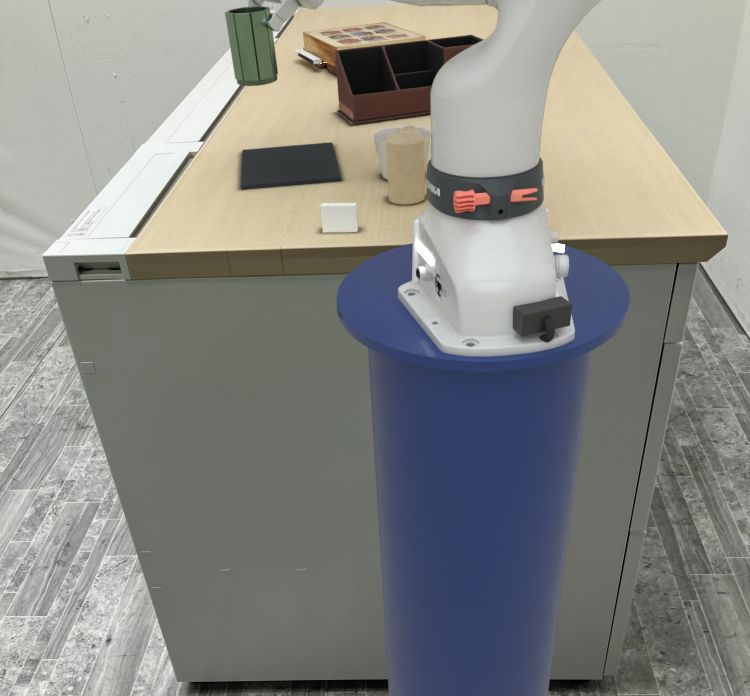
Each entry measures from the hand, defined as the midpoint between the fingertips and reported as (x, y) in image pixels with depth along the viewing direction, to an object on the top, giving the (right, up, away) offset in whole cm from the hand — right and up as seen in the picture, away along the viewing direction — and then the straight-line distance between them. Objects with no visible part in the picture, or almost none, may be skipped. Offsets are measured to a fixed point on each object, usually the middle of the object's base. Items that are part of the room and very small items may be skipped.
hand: (258, 26), depth 122 cm
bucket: (-4, -4, -1) cm, 5 cm away
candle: (+22, -25, +2) cm, 34 cm away
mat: (+3, -14, +17) cm, 22 cm away
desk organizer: (+25, +7, +42) cm, 49 cm away
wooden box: (+13, +36, +79) cm, 88 cm away
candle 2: (+22, -18, +10) cm, 30 cm away
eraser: (+13, -33, -7) cm, 36 cm away
